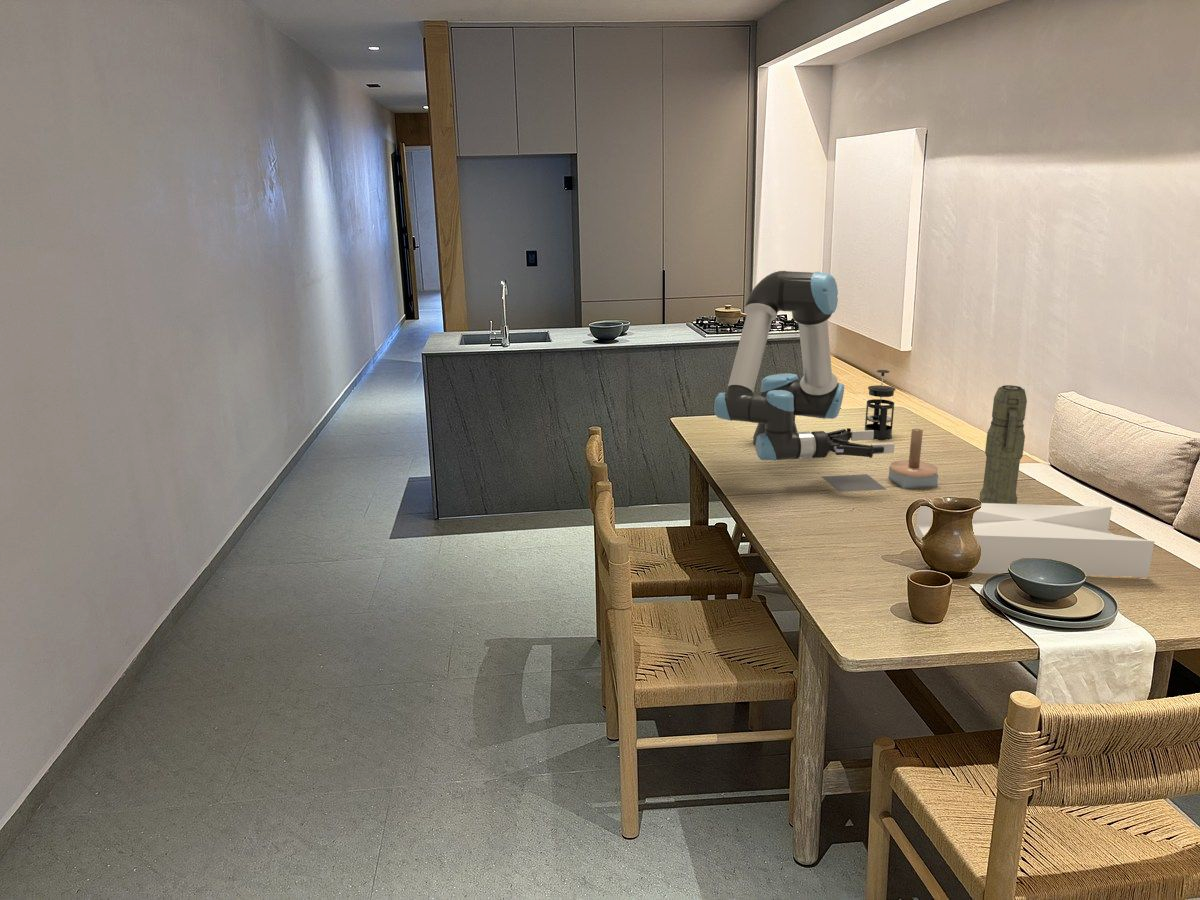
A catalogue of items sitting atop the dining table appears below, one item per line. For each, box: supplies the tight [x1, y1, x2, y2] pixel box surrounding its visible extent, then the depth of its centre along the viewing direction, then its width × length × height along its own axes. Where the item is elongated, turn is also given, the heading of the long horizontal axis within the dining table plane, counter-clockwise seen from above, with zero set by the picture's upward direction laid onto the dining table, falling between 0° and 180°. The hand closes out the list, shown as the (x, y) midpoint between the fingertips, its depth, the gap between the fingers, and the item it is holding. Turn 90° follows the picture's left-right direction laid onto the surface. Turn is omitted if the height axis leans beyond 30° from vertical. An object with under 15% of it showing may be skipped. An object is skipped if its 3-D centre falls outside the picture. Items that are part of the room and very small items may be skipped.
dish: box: [888, 466, 939, 490], centre depth 267 cm, size 10×10×4 cm
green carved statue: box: [978, 384, 1028, 504], centre depth 234 cm, size 9×12×35 cm
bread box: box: [915, 503, 1155, 578], centre depth 215 cm, size 45×22×10 cm, turn 84°
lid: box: [889, 428, 939, 477], centre depth 264 cm, size 13×13×12 cm
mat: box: [821, 473, 887, 493], centre depth 267 cm, size 14×14×1 cm
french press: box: [864, 369, 896, 441], centre depth 312 cm, size 12×9×23 cm
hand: (883, 441), depth 262 cm, fingers open, 13 cm apart
